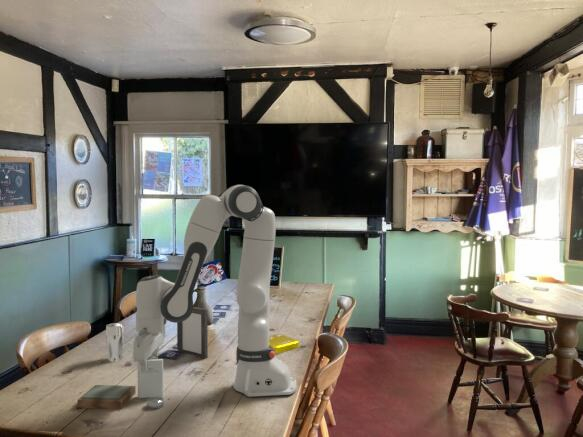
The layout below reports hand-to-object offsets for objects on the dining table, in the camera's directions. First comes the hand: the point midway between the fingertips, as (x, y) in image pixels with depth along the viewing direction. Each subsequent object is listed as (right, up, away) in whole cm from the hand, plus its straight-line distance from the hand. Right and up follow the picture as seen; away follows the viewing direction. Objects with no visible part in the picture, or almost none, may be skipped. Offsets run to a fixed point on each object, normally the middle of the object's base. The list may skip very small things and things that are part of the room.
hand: (149, 365), depth 160 cm
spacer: (+4, -11, -7) cm, 14 cm away
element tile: (+41, -9, +51) cm, 66 cm away
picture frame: (+6, -9, +40) cm, 42 cm away
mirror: (-13, -11, -3) cm, 17 cm away
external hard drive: (0, -11, +1) cm, 11 cm away
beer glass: (-24, -9, +34) cm, 43 cm away
